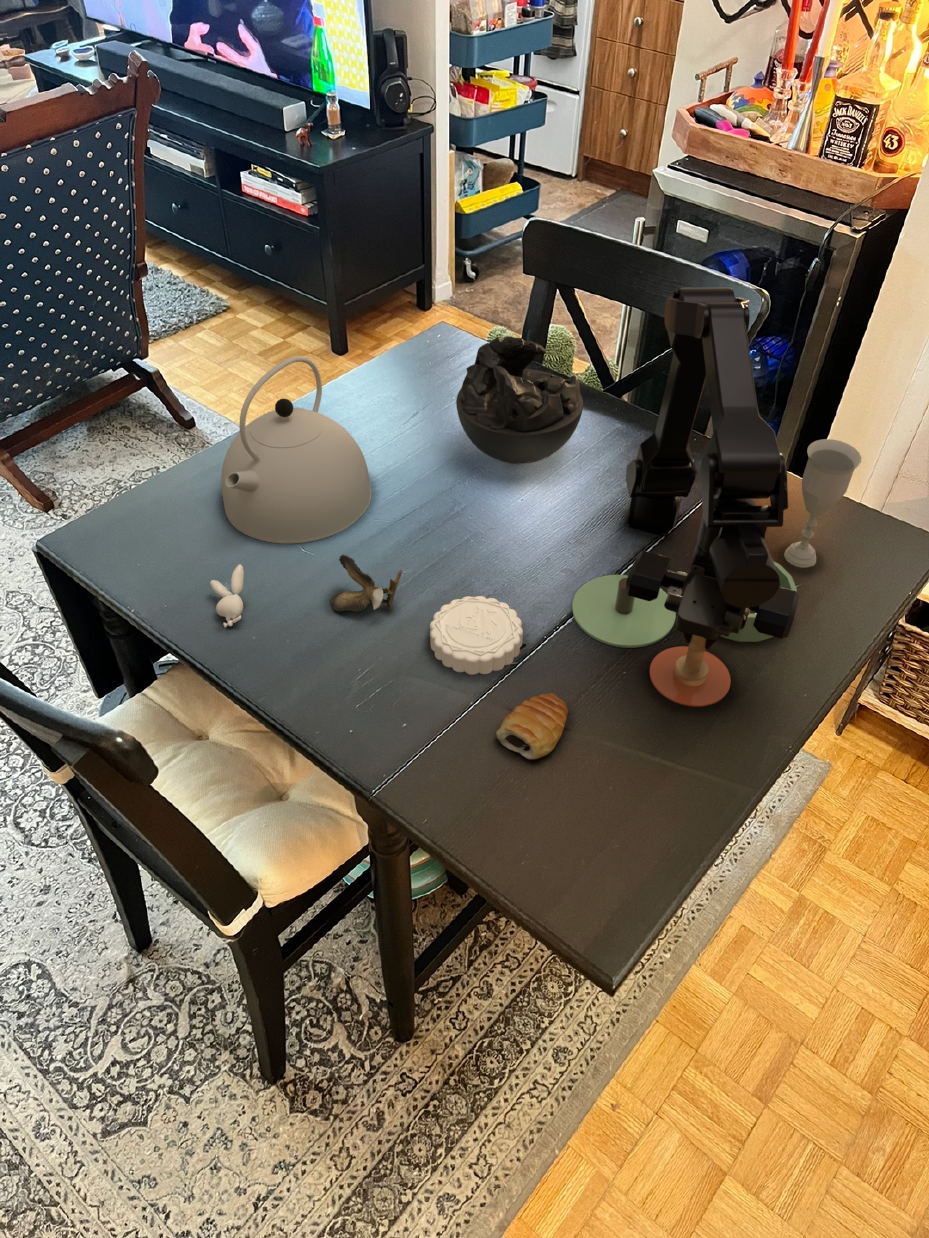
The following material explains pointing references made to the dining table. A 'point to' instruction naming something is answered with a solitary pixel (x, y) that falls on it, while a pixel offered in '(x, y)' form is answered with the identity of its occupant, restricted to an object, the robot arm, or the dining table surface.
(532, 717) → the pastry
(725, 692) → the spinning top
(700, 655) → the pestle
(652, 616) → the pot lid
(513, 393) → the bowl of black rocks
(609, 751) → the dining table surface
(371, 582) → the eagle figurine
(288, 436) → the kettle
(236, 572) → the rabbit figurine
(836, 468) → the chalice
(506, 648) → the mooncake
